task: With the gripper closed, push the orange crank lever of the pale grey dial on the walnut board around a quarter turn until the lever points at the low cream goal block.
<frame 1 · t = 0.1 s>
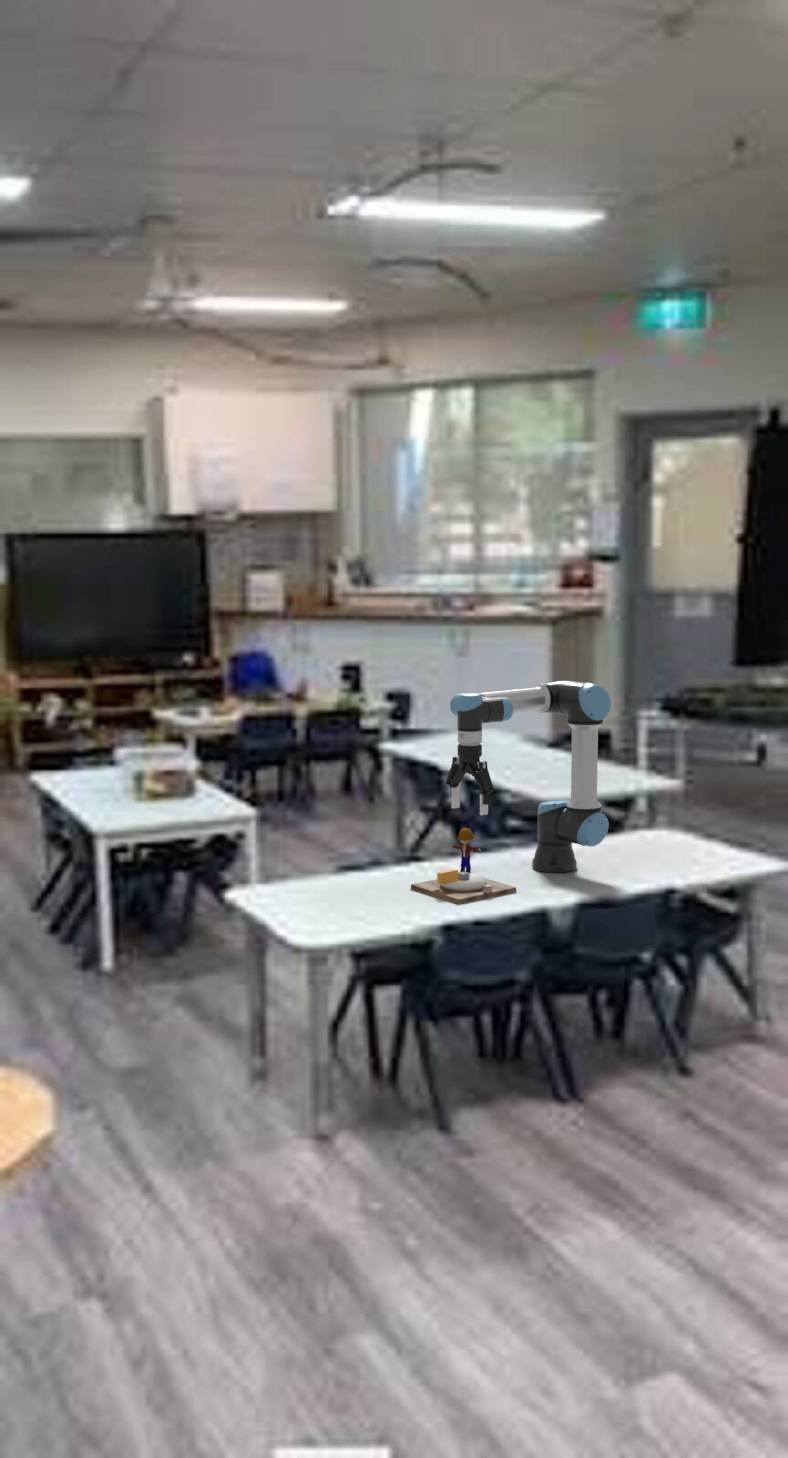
hand: (469, 811, 448), 28 cm above the table, fingers open, 13 cm apart
board: (463, 890, 462), on the table
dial: (460, 877, 461), point 5 cm above the table, hinge at 0.0°
toy: (465, 872, 487), on the table
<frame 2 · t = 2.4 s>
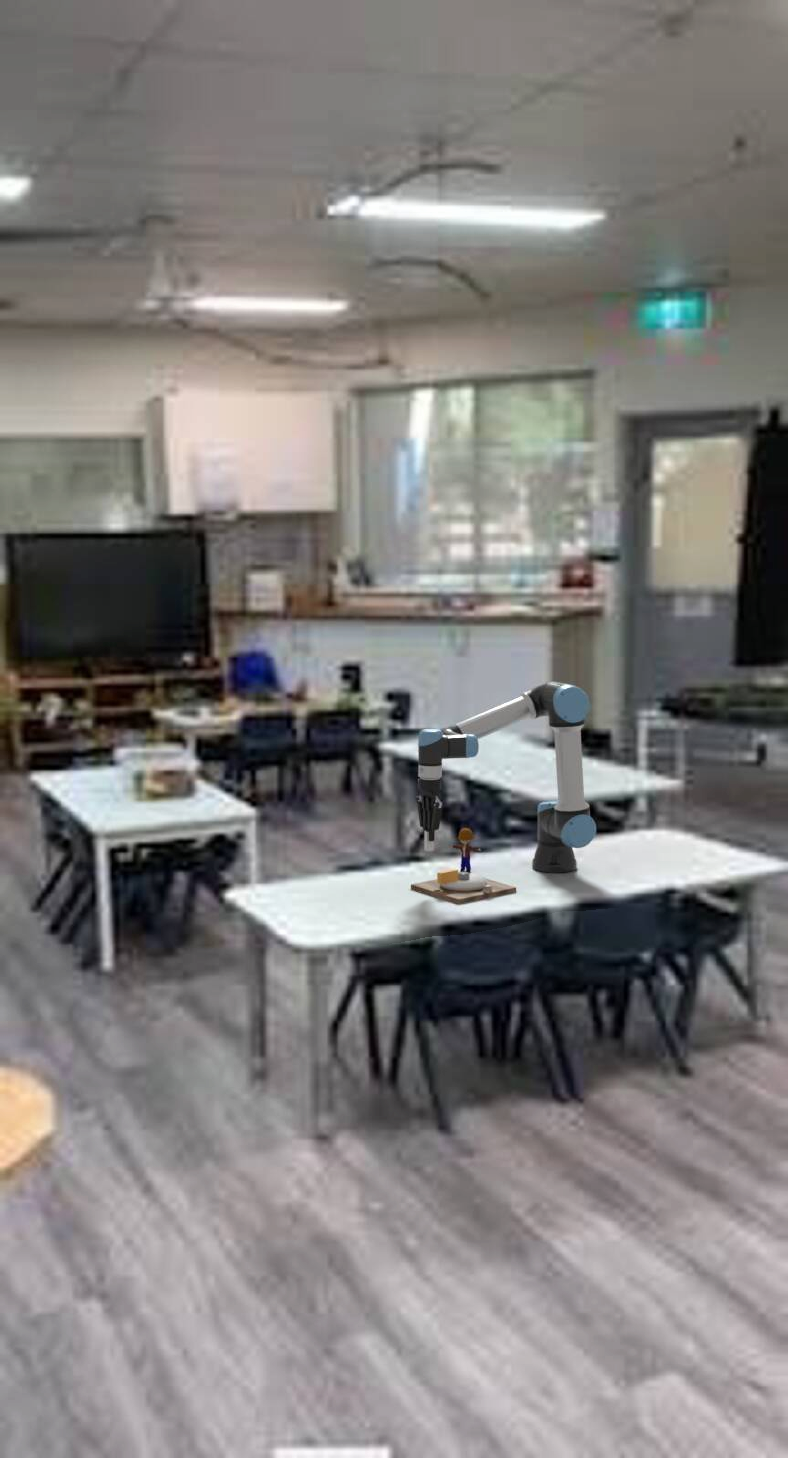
hand: (429, 850, 461), 13 cm above the table, fingers closed
nothing on the table moved.
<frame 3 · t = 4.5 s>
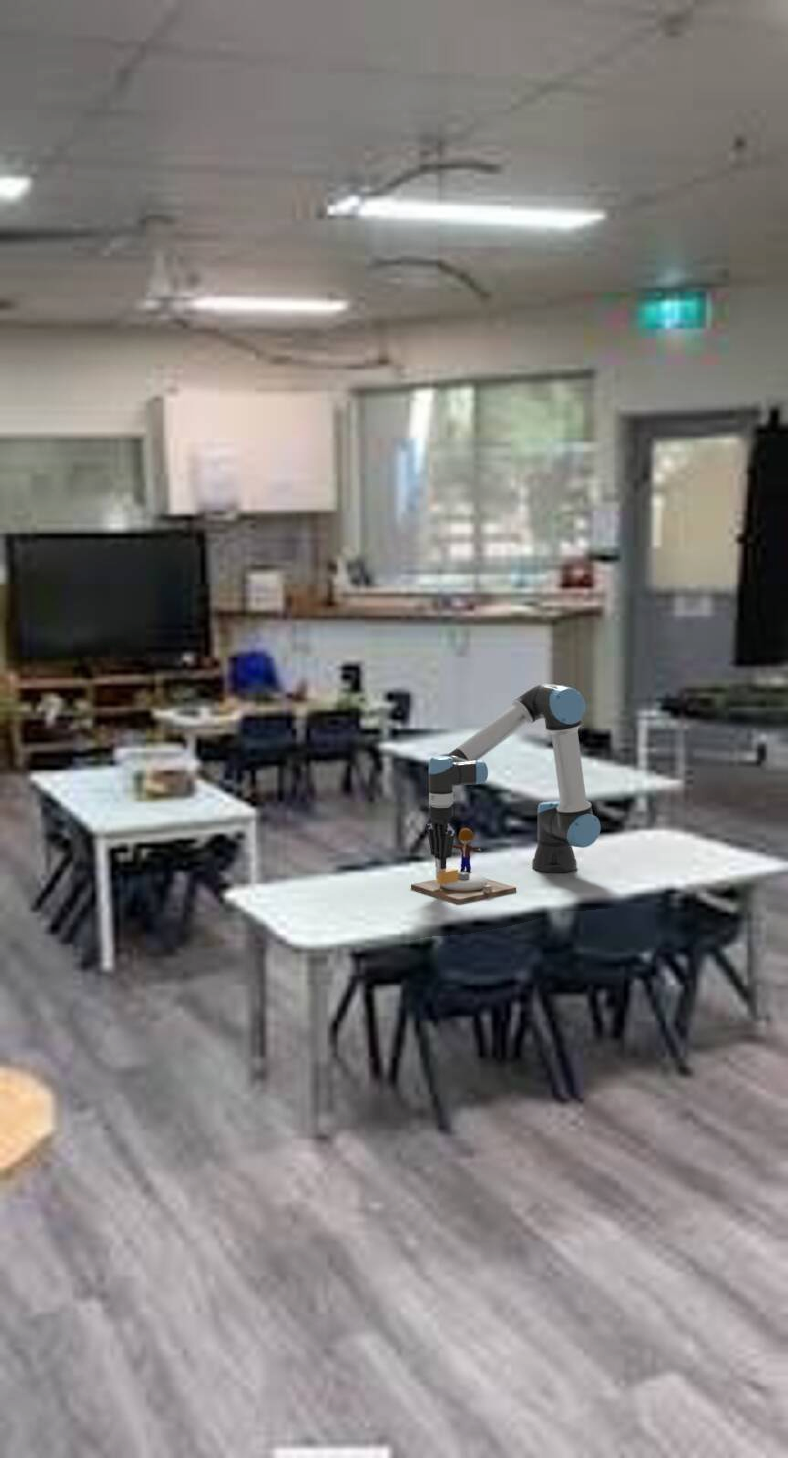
hand: (440, 878, 458), 5 cm above the table, fingers closed
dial: (460, 877, 461), point 5 cm above the table, hinge at 0.0°, touching gripper
everything else where it was.
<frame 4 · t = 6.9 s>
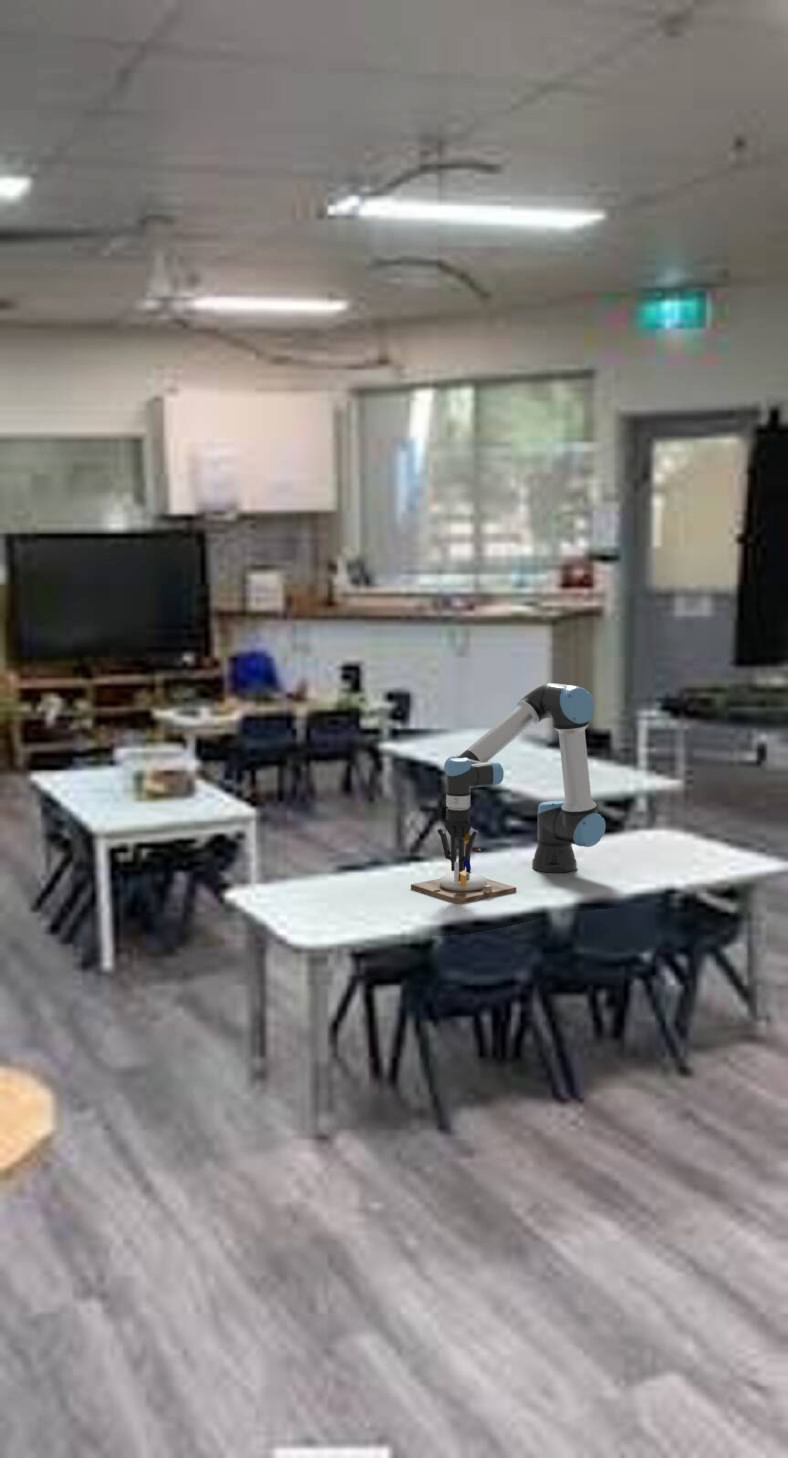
hand: (457, 881, 454), 5 cm above the table, fingers closed
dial: (463, 877, 460), point 5 cm above the table, hinge at 49.7°, touching gripper
everything else where it was.
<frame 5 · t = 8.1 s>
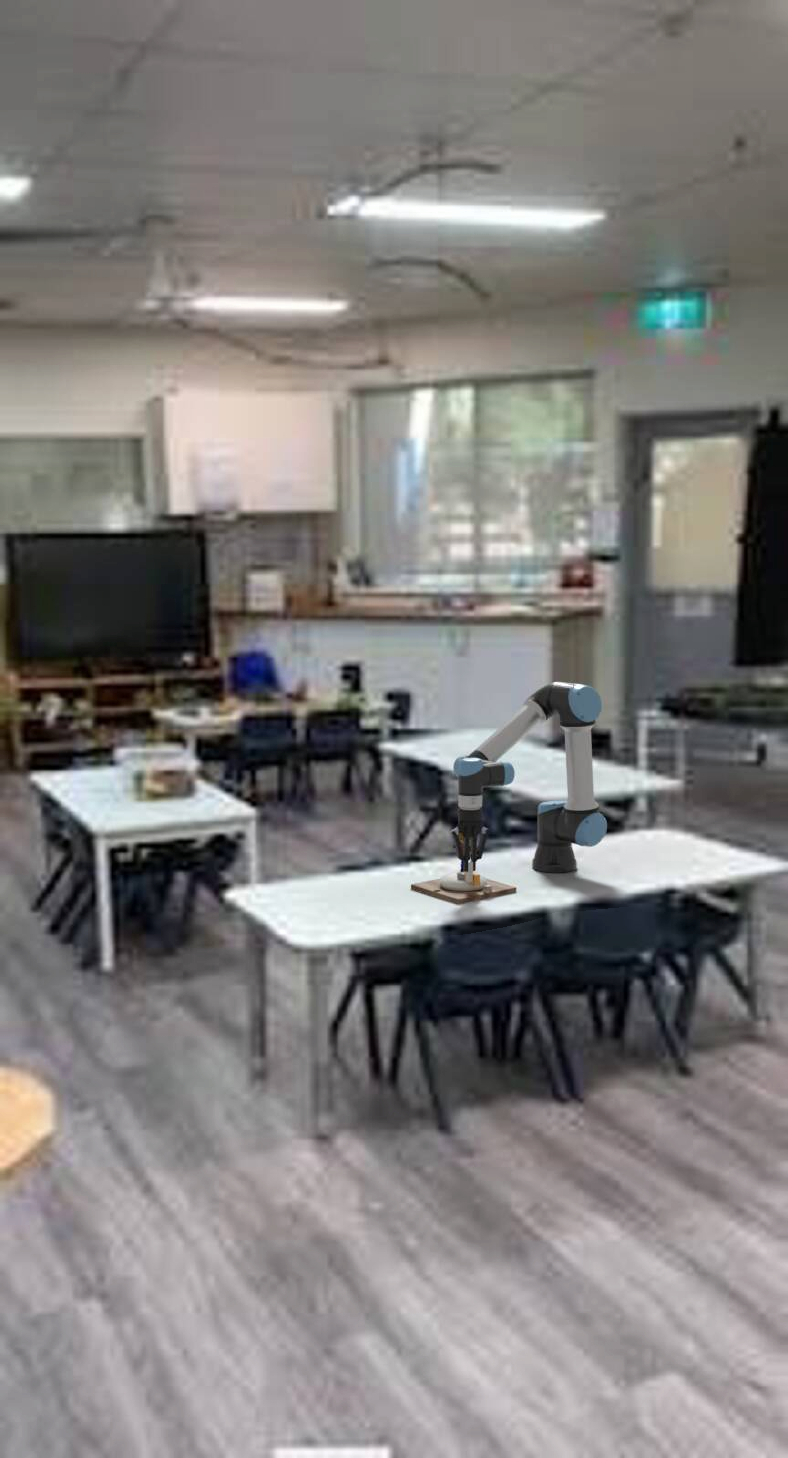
hand: (469, 881, 454), 5 cm above the table, fingers closed
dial: (465, 877, 460), point 5 cm above the table, hinge at 76.3°, touching gripper
everything else where it was.
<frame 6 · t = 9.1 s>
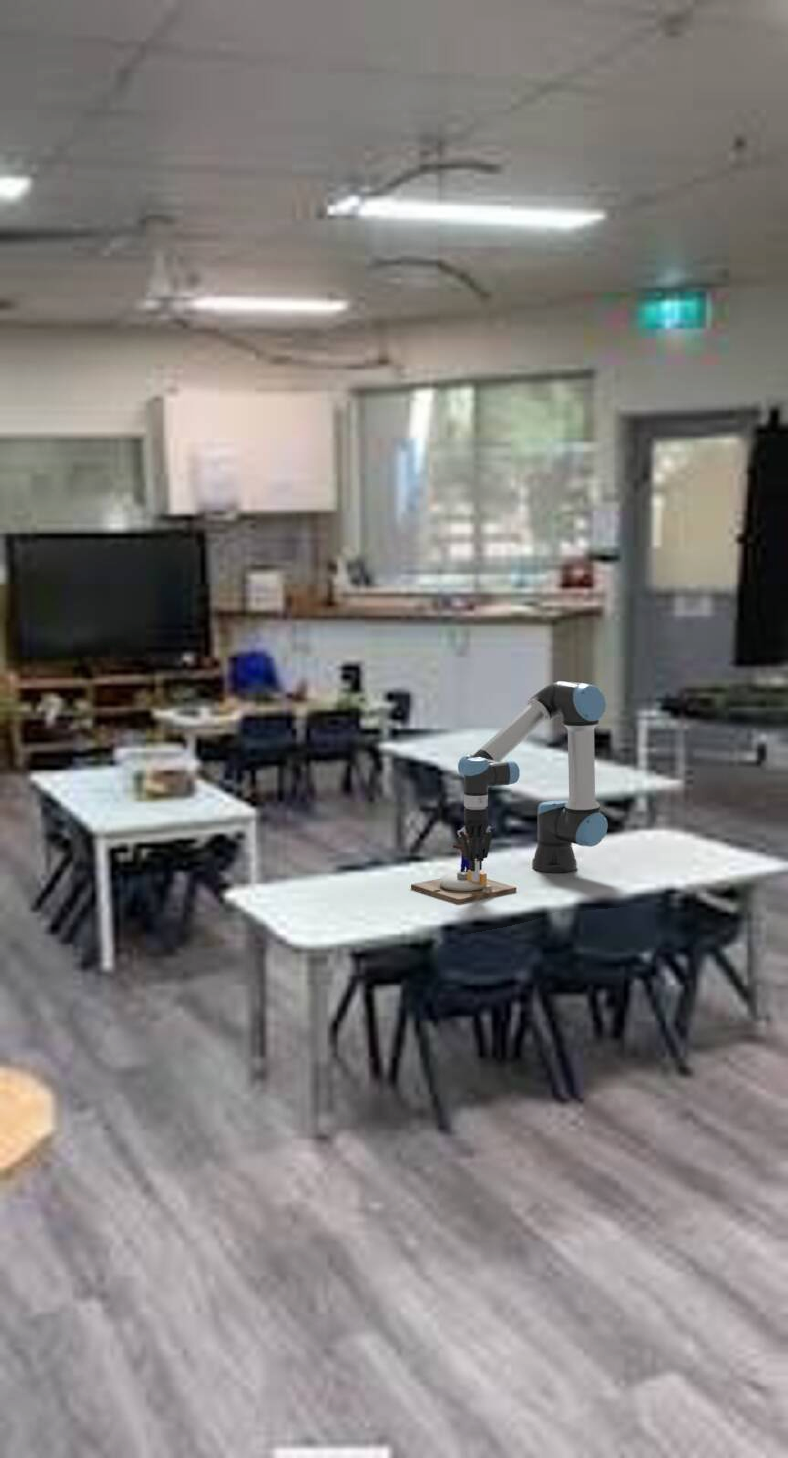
hand: (475, 880, 454), 5 cm above the table, fingers closed
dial: (465, 877, 461), point 5 cm above the table, hinge at 91.7°, touching gripper
everything else where it was.
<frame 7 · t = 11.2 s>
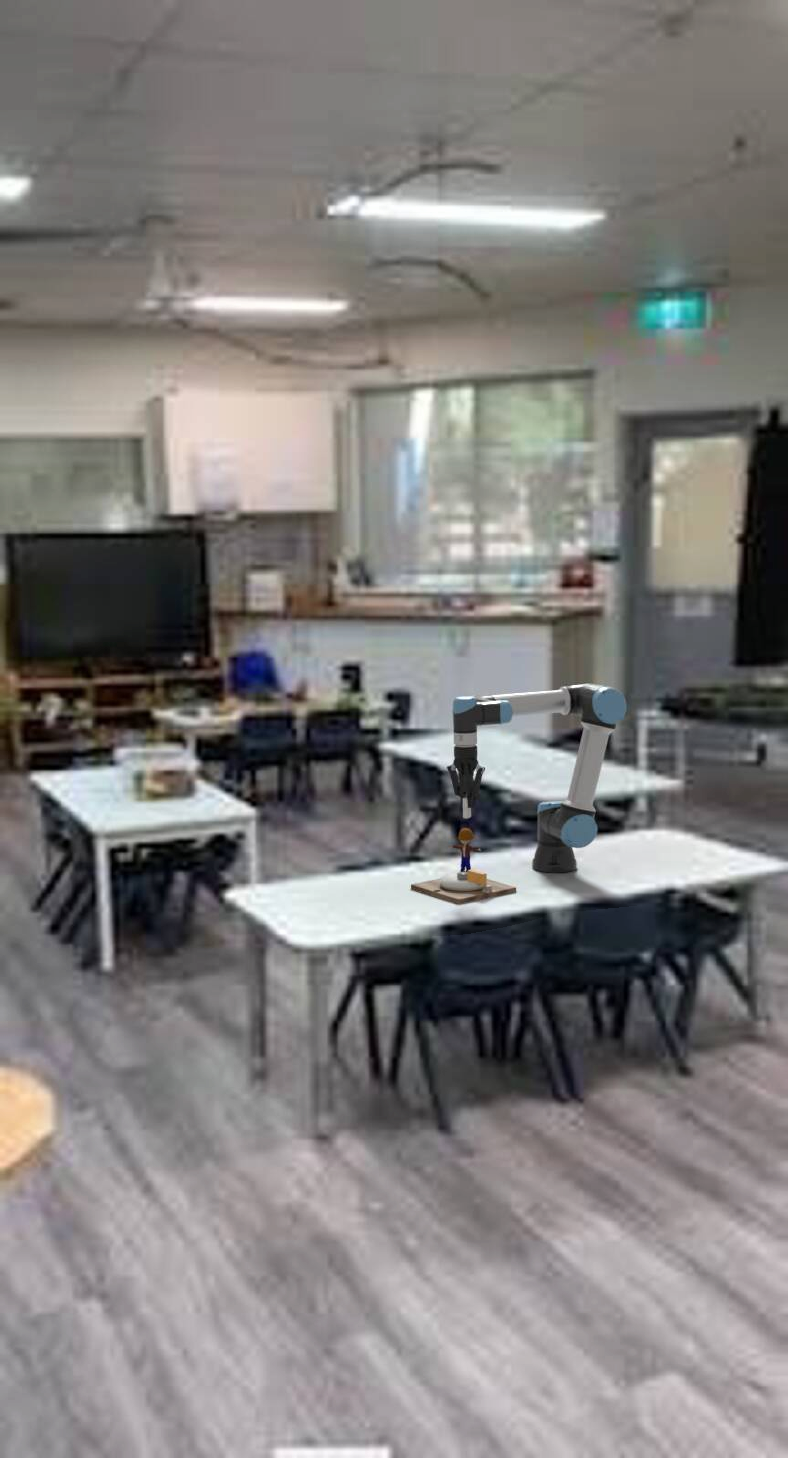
hand: (467, 817, 463), 23 cm above the table, fingers closed
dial: (465, 877, 461), point 5 cm above the table, hinge at 91.7°
everything else where it was.
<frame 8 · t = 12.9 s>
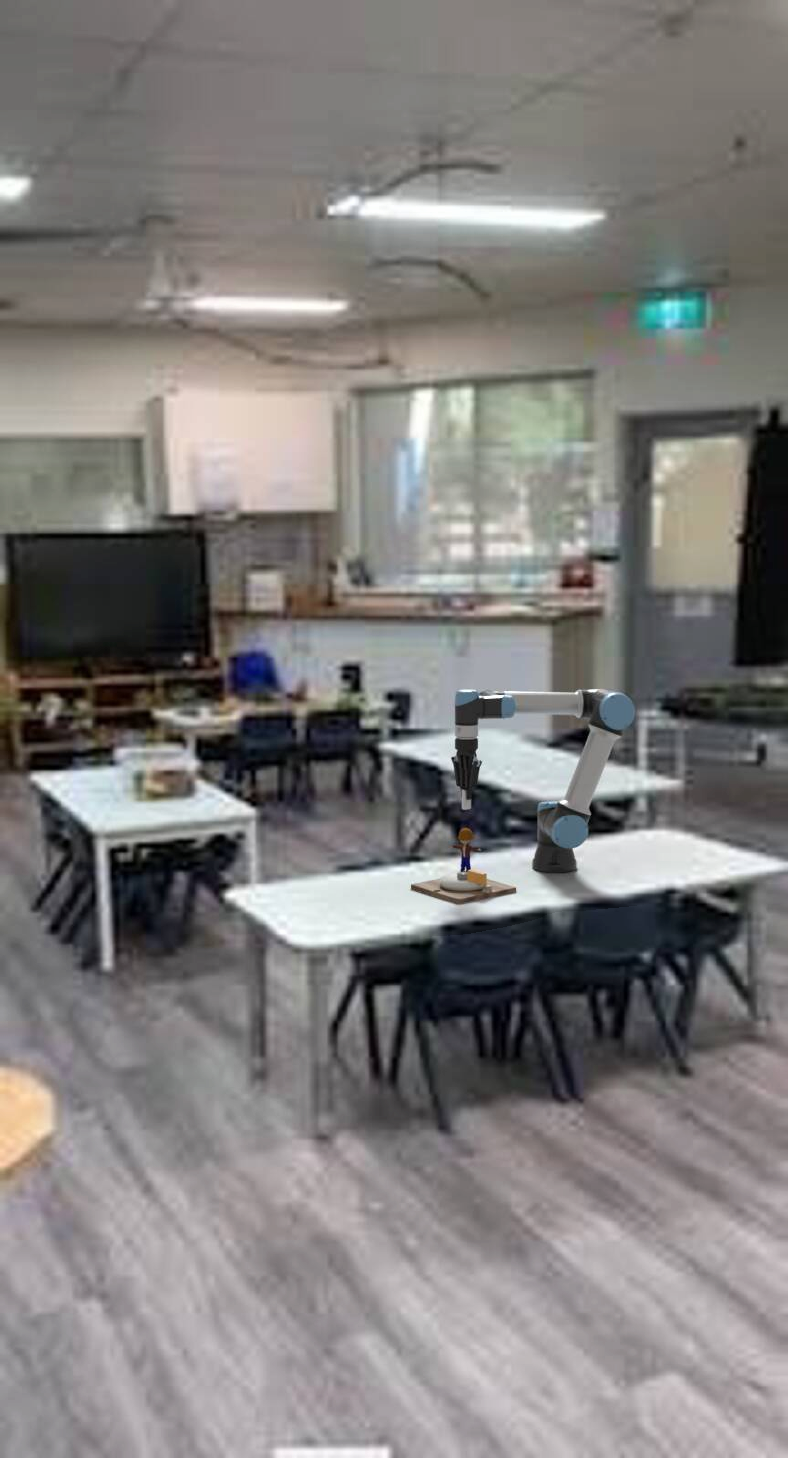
hand: (466, 808, 470), 24 cm above the table, fingers closed
nothing on the table moved.
at the end: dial at +92° (first picture: +0°) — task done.
